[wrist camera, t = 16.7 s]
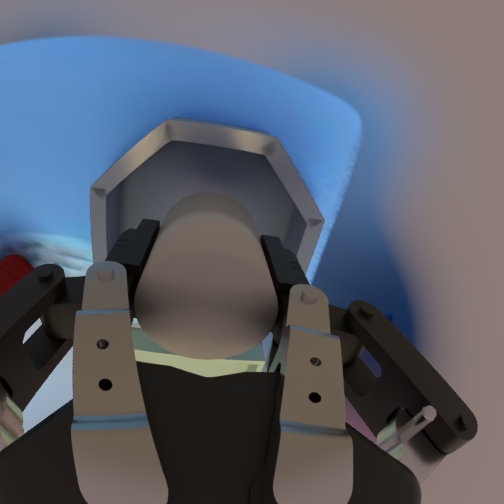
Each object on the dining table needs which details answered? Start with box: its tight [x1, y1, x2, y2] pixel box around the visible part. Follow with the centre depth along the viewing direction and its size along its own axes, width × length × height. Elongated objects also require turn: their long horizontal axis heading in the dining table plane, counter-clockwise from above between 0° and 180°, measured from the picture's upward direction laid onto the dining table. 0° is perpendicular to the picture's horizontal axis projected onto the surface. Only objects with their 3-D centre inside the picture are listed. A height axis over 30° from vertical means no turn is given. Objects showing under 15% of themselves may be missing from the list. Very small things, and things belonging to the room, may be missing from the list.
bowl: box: [90, 117, 325, 274], centre depth 20 cm, size 16×16×4 cm
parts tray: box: [131, 327, 265, 377], centre depth 30 cm, size 16×16×3 cm
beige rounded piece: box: [134, 192, 278, 360], centre depth 10 cm, size 4×4×5 cm
